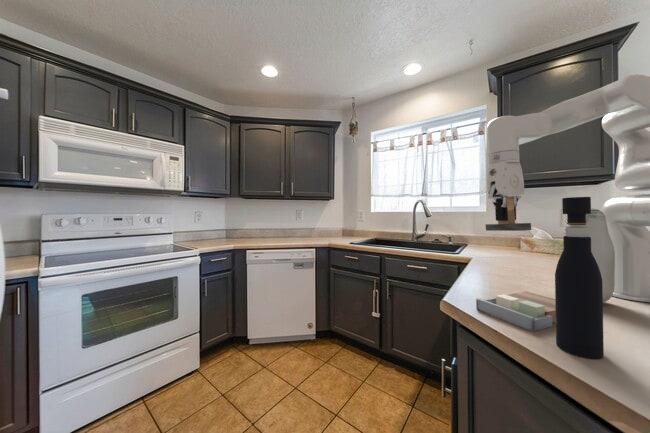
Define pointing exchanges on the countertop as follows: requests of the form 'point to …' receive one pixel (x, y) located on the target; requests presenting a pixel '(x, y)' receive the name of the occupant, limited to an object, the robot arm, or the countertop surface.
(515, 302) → the cream block
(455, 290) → the countertop surface
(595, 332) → the black bottle
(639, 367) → the countertop surface
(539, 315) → the sage tile
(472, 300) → the countertop surface
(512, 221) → the rubber stamp
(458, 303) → the countertop surface
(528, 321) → the tray
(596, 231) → the white tall rounded piece
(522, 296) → the walnut plate
